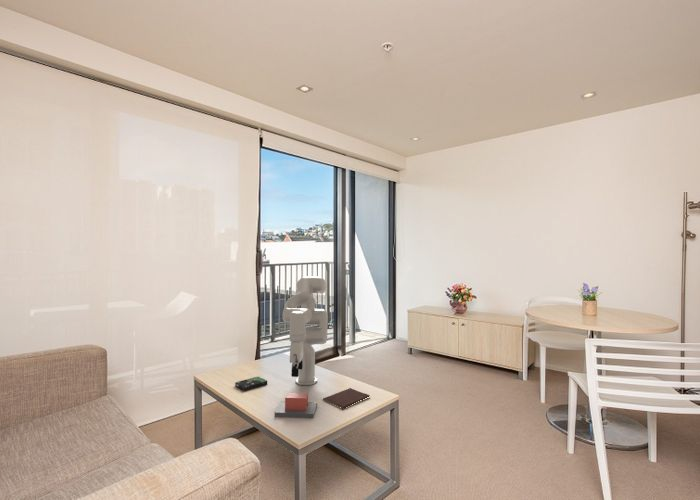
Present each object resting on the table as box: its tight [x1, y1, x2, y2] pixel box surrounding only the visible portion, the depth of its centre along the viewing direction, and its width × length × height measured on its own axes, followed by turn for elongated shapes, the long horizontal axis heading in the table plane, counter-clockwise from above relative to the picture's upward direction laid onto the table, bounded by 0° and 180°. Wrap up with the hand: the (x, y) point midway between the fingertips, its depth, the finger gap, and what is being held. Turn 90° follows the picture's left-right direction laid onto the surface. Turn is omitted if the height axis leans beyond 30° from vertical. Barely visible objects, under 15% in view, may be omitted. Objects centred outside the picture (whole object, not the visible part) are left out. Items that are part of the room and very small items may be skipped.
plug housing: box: [284, 392, 309, 410], centre depth 168 cm, size 5×10×6 cm, turn 87°
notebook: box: [322, 387, 371, 409], centre depth 182 cm, size 15×20×2 cm
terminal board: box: [274, 400, 318, 419], centre depth 167 cm, size 12×18×6 cm, turn 87°
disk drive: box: [234, 376, 268, 392], centre depth 199 cm, size 10×3×15 cm
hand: (297, 372), depth 168 cm, fingers open, 9 cm apart
